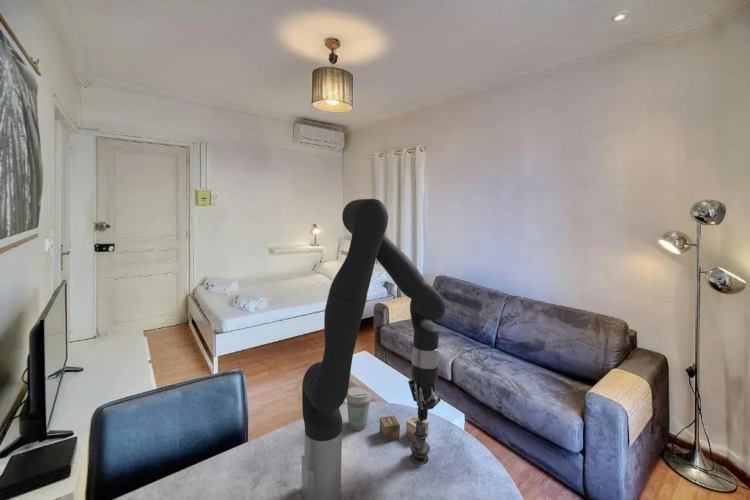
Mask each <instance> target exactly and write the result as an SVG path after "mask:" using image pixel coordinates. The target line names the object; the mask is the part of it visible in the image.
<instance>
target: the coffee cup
mask: <svg viewBox="0 0 750 500" xmlns="http://www.w3.org/2000/svg"><path fill="white" fill-rule="evenodd" d="M345 400H346V405H347V406H346V407H347V416H348V426H349V428H350V429H351V430H353V431H354V432H355V431H357V432H358V431H362V430H363V431H364V430H365V429H366V427H367V425H368V420H369V419H368V418H369V410H370V406H371V405H370V403H371V400H372V394H371V391H370V389H369V388H368V387H366V386H362V385H357V386H352V387H350V388H348V392H347V396H346V398H345Z"/></svg>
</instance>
